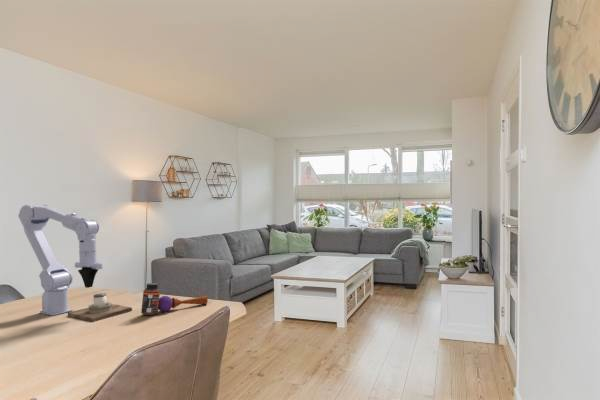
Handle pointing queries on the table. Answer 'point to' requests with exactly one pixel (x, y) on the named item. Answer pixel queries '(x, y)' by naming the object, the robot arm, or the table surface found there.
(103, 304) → the plug
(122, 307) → the board with ring socket
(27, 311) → the table surface
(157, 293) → the supplement bottle
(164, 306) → the kendama
